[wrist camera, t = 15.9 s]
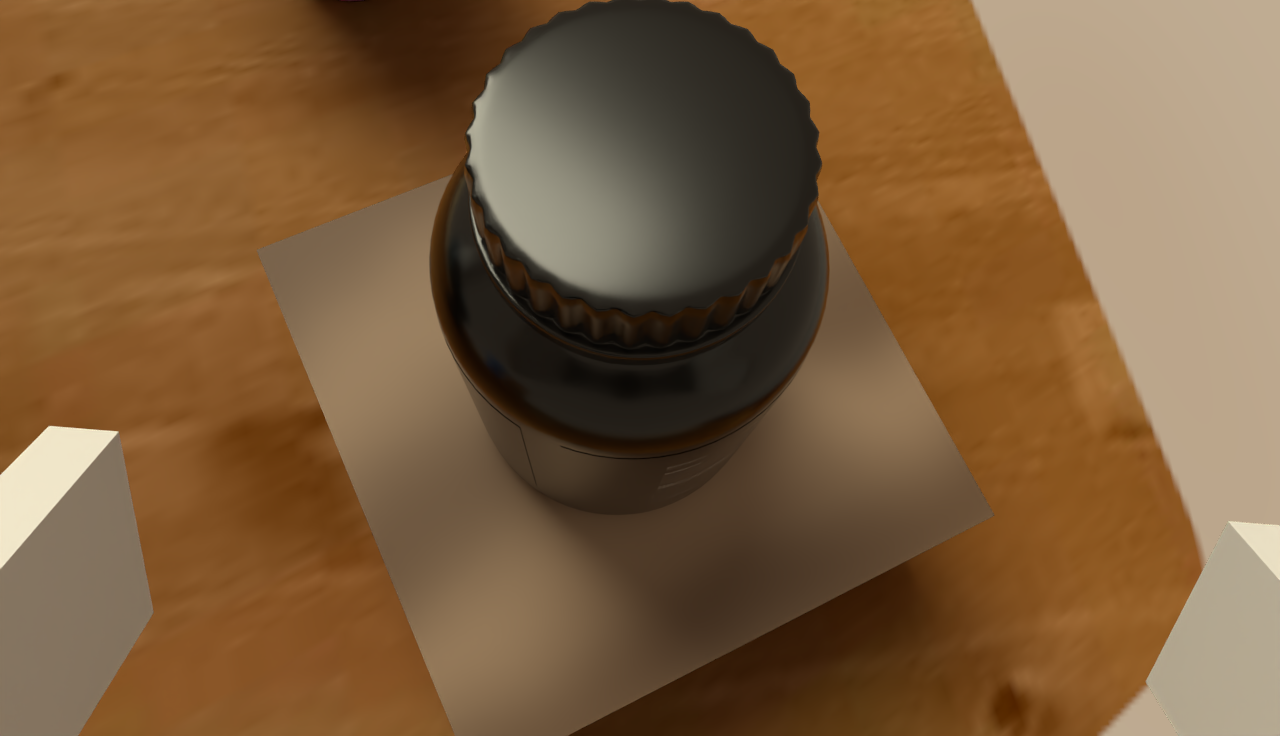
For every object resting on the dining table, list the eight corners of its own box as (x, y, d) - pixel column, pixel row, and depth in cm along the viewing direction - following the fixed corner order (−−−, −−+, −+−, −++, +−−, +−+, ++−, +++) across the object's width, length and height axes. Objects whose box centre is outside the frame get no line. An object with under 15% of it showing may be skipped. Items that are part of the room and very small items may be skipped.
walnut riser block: (323, 333, 31) (256, 249, 24) (704, 177, 33) (740, 62, 27) (495, 747, 28) (474, 783, 21) (899, 541, 30) (994, 515, 24)
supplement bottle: (732, 249, 25) (871, -76, 14) (762, 508, 23) (953, 385, 12) (469, 263, 24) (382, -67, 13) (480, 529, 23) (390, 422, 11)
